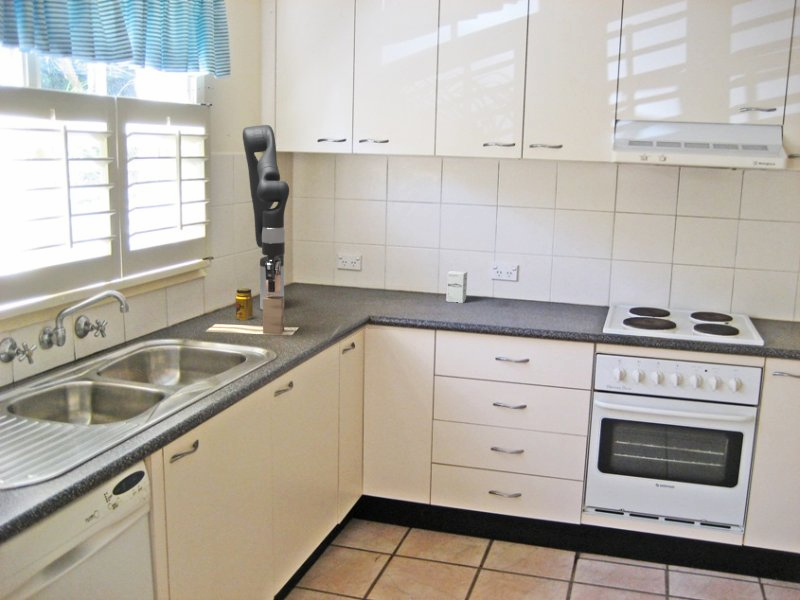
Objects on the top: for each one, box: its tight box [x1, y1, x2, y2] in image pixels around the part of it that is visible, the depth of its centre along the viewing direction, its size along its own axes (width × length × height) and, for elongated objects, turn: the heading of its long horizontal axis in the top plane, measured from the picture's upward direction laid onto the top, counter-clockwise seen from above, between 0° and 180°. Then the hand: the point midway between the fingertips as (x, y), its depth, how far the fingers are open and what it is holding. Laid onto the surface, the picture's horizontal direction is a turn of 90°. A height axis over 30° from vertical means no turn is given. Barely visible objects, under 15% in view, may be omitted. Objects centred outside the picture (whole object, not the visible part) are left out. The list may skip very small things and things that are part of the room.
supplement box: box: [445, 270, 468, 304], centre depth 357 cm, size 7×7×13 cm
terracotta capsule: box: [266, 274, 280, 294], centre depth 285 cm, size 5×5×6 cm
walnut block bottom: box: [262, 313, 285, 335], centre depth 288 cm, size 6×6×6 cm
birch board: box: [205, 323, 299, 336], centre depth 292 cm, size 12×30×1 cm, turn 85°
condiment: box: [235, 288, 254, 322], centre depth 308 cm, size 7×8×12 cm
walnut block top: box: [262, 295, 285, 317], centre depth 287 cm, size 6×6×6 cm
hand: (273, 290), depth 286 cm, fingers closed on terracotta capsule, 4 cm apart
